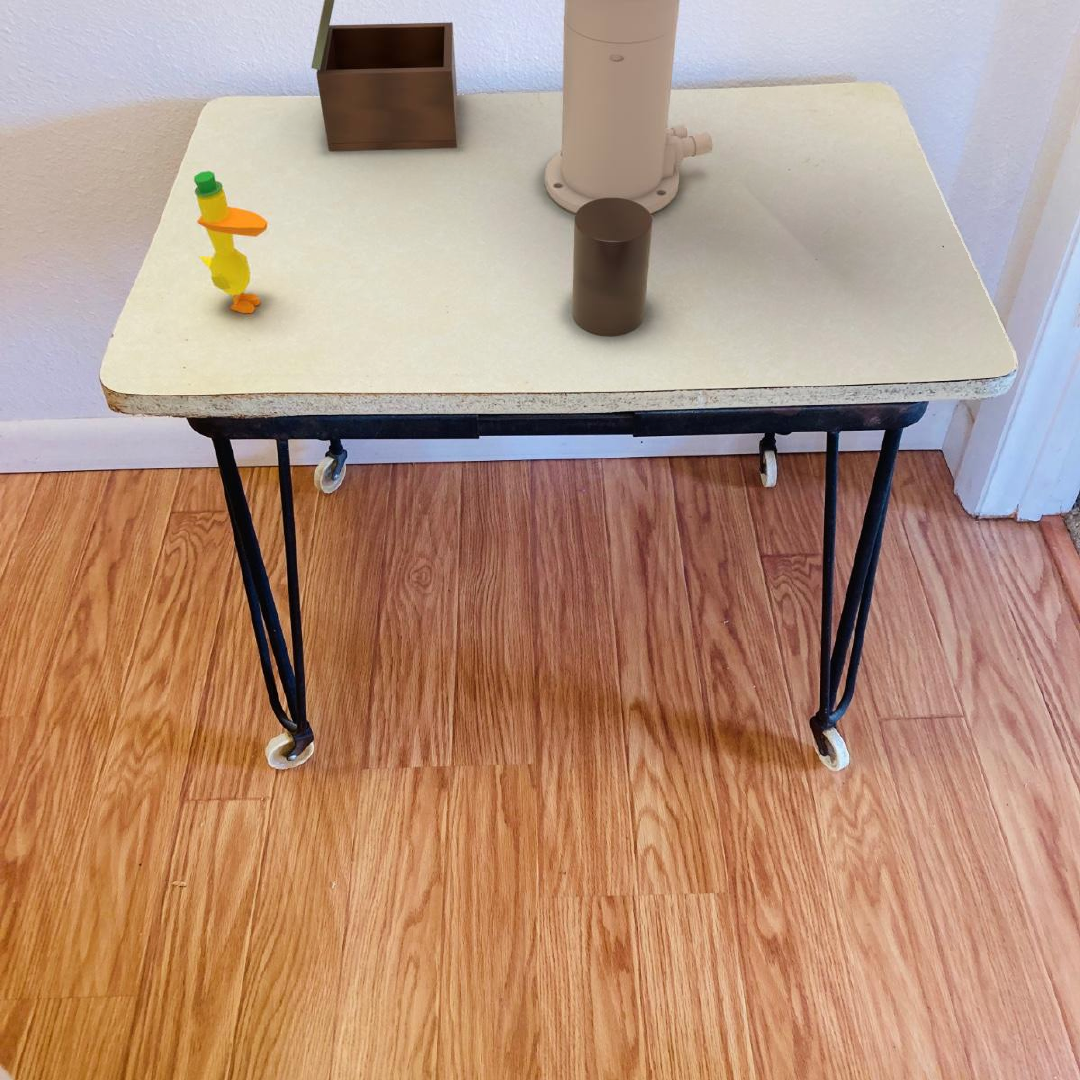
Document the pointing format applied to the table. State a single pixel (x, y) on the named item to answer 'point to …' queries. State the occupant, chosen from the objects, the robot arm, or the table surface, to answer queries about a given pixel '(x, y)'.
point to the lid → (322, 33)
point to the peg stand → (610, 265)
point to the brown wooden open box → (389, 86)
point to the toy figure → (227, 240)
